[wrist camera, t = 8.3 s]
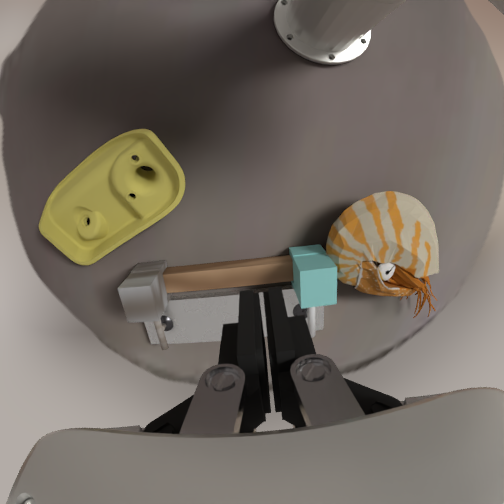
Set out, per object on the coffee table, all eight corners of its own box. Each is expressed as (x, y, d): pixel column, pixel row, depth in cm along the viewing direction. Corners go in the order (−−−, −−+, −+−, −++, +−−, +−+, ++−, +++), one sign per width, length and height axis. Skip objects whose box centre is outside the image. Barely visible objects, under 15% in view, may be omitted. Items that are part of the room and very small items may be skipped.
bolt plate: (141, 298, 39) (138, 302, 38) (321, 281, 39) (323, 285, 38) (153, 339, 41) (151, 344, 40) (321, 324, 41) (323, 329, 40)
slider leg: (289, 247, 37) (299, 269, 30) (319, 244, 37) (337, 265, 30) (292, 324, 41) (302, 356, 34) (320, 320, 41) (334, 351, 34)
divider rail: (138, 262, 37) (117, 287, 30) (328, 242, 37) (348, 264, 30) (157, 333, 41) (143, 367, 34) (328, 318, 41) (343, 350, 34)
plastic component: (83, 270, 35) (30, 224, 29) (94, 235, 41) (50, 192, 34) (202, 194, 31) (147, 123, 25) (200, 164, 37) (156, 104, 30)
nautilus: (440, 281, 41) (365, 331, 43) (397, 161, 33) (301, 221, 36) (466, 307, 33) (382, 364, 36) (430, 171, 26) (316, 244, 29)
